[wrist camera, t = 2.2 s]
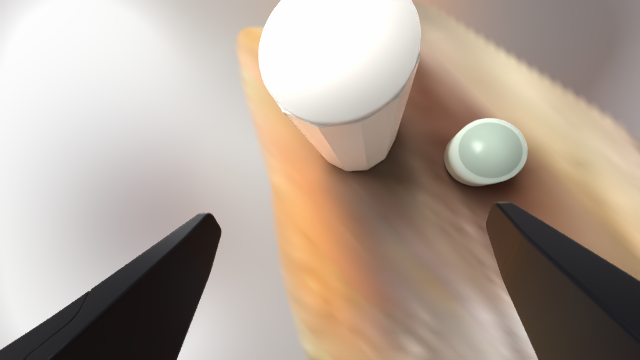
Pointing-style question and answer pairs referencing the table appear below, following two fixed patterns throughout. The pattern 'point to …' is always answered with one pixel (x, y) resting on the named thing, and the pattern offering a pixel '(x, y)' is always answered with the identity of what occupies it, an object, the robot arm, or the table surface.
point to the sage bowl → (485, 152)
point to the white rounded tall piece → (342, 73)
